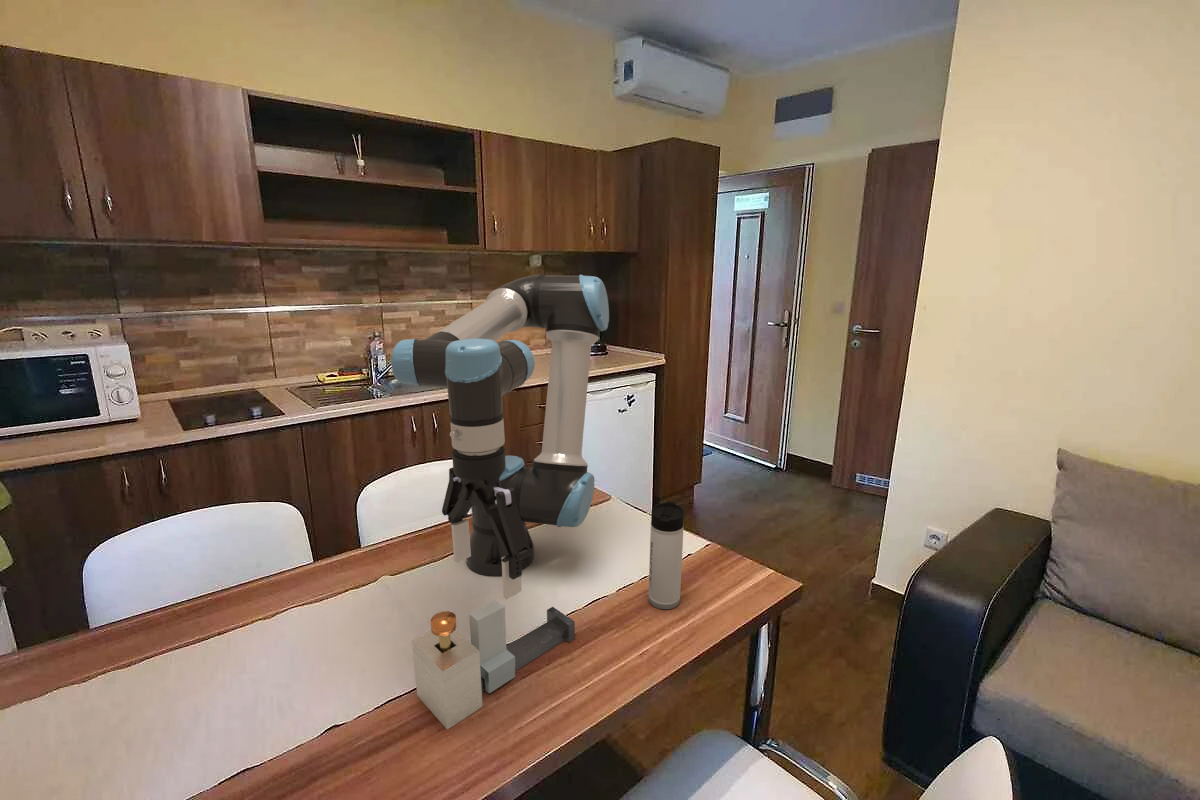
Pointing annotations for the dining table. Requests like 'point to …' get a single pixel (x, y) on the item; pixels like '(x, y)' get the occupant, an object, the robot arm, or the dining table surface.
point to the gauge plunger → (443, 628)
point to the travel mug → (666, 555)
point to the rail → (474, 666)
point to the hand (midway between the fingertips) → (486, 575)
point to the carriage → (492, 645)
